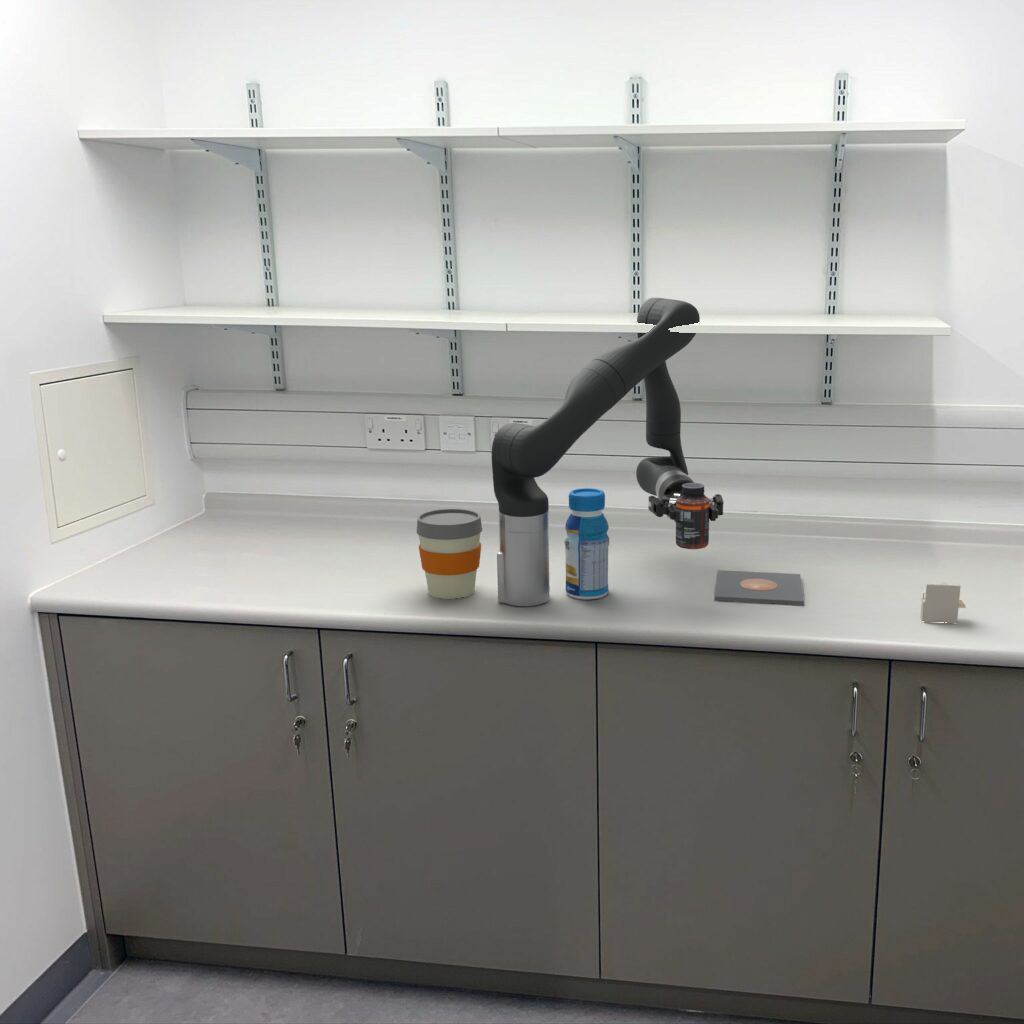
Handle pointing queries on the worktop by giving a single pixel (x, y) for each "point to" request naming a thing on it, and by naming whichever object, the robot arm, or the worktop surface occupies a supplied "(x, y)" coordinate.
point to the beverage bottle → (586, 545)
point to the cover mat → (759, 587)
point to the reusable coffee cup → (450, 551)
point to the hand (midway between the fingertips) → (695, 516)
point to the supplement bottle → (692, 517)
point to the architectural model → (941, 603)
